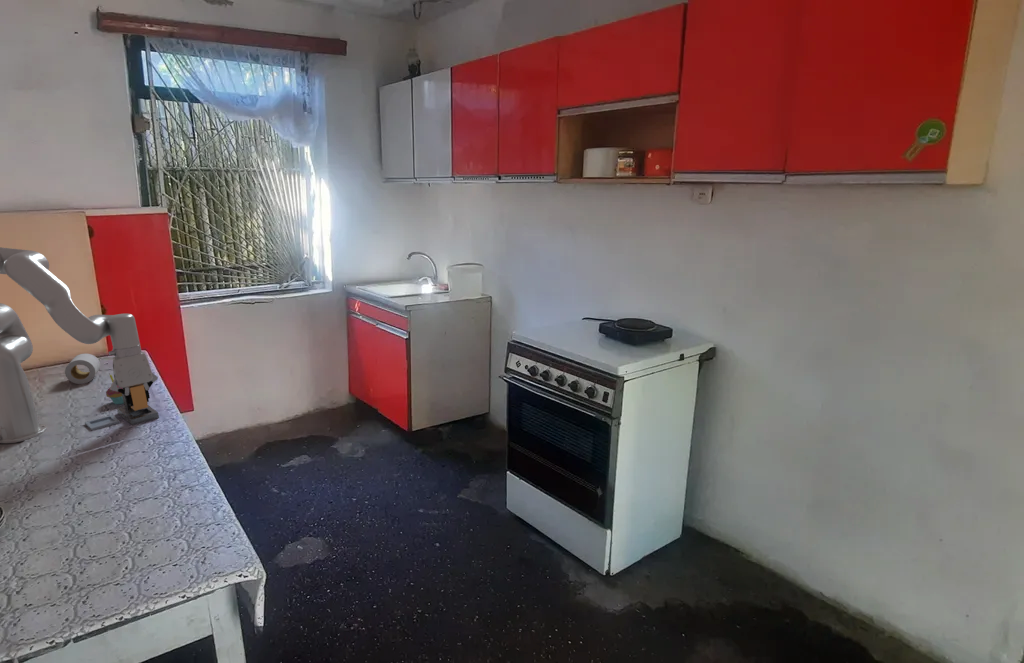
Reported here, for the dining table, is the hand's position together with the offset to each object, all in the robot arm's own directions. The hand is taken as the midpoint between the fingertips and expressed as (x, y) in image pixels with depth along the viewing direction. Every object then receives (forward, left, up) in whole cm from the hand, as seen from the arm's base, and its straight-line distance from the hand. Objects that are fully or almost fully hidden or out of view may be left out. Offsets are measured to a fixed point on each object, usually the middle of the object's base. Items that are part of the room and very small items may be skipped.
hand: (138, 402), depth 197 cm
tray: (-10, +6, -6) cm, 13 cm away
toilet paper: (-2, +66, -6) cm, 66 cm away
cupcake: (0, +24, -6) cm, 24 cm away
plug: (0, 0, -2) cm, 2 cm away
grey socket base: (0, +4, -6) cm, 7 cm away
